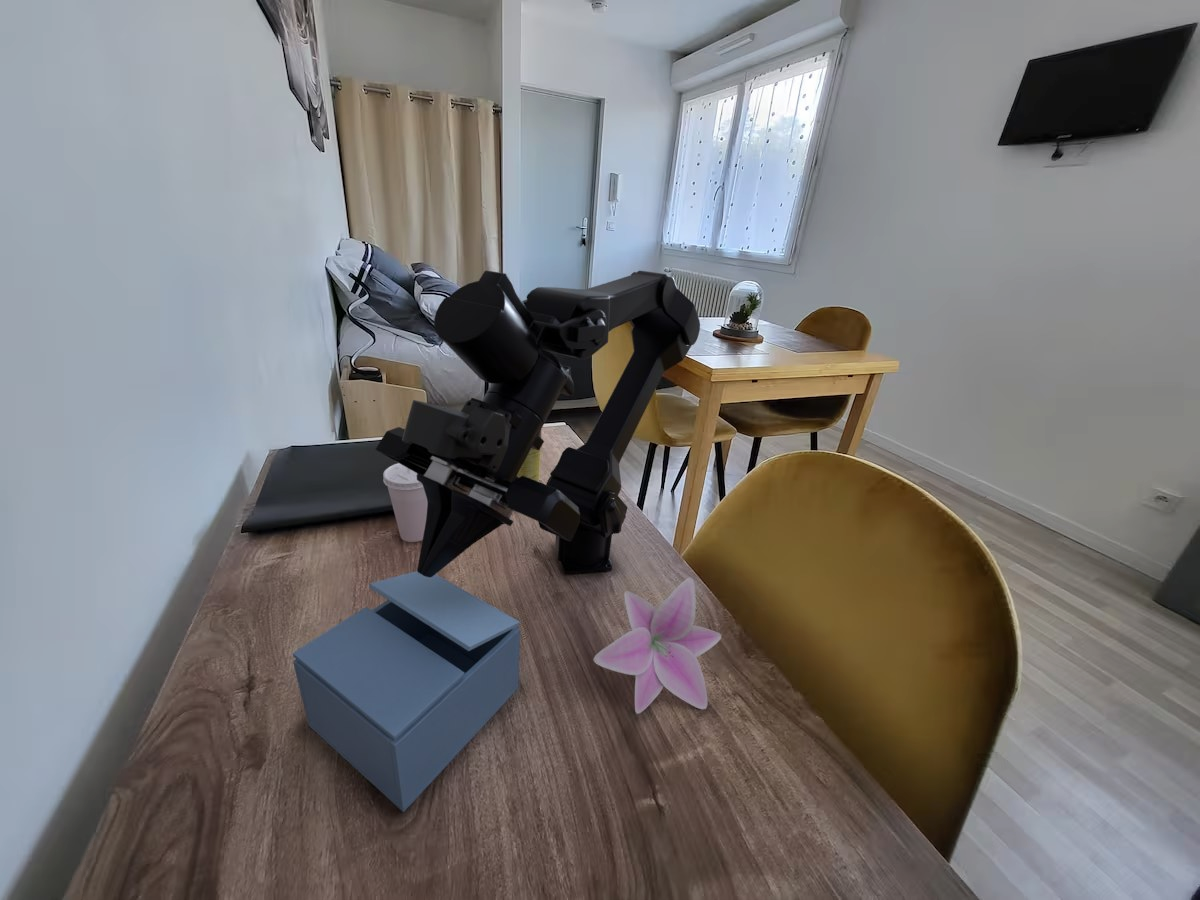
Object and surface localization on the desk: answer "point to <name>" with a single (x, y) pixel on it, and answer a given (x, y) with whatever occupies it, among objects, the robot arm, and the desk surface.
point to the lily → (662, 648)
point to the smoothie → (407, 501)
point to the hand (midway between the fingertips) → (423, 575)
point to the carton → (402, 695)
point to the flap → (446, 608)
